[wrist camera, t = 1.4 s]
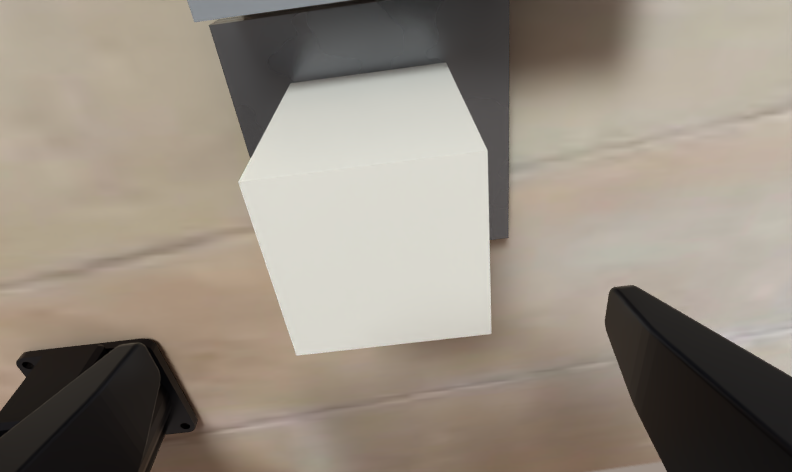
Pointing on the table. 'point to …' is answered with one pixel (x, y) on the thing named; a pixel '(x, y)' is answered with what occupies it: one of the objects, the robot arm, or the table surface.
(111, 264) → the table surface
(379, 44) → the stud plate
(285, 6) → the bin
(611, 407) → the table surface
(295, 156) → the cream rectangular block
